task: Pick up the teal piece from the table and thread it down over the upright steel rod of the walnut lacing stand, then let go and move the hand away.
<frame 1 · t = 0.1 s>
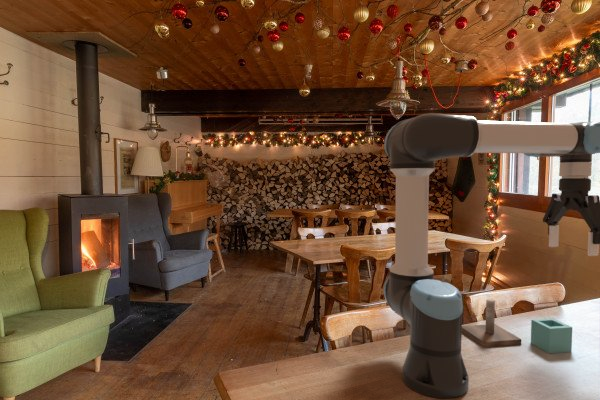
hand: (572, 251, 113), 27 cm above the table, tool pointing down, fingers open, 13 cm apart
teal piece: (550, 347, 113), on the table
lacing stand: (489, 337, 120), on the table
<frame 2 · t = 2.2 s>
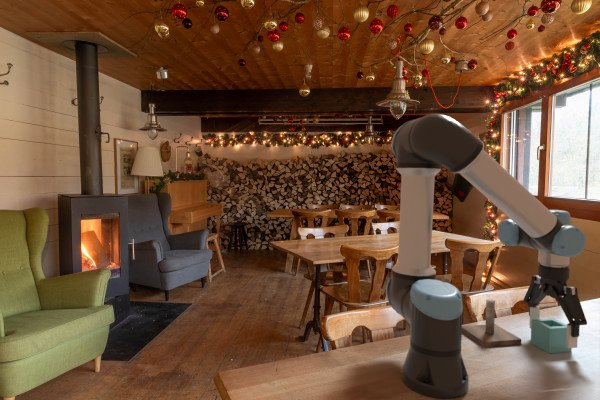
hand: (551, 337, 113), 3 cm above the table, tool pointing down, fingers open, 13 cm apart
nothing on the table moved.
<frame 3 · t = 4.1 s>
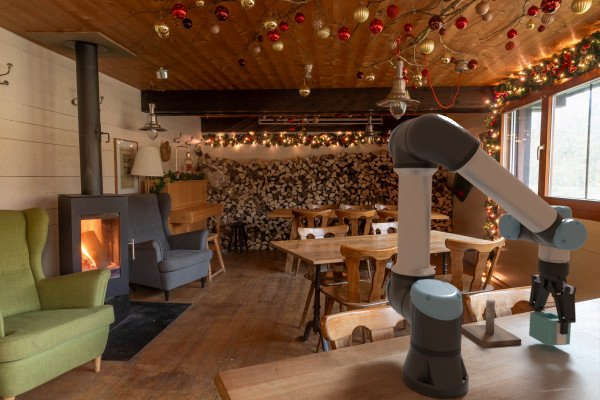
hand: (549, 338, 113), 2 cm above the table, tool pointing down, fingers closed on teal piece, 7 cm apart
teal piece: (548, 339, 113), point 2 cm above the table, touching gripper
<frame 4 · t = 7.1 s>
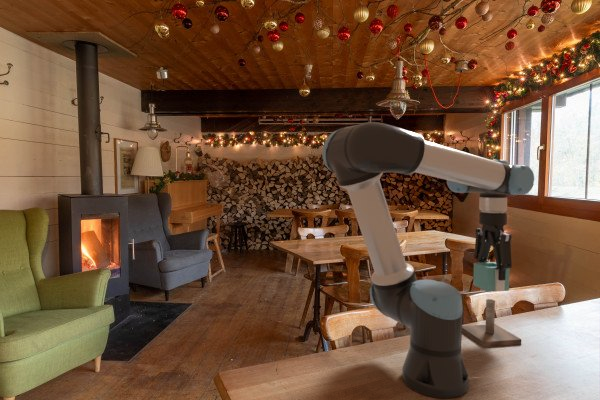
hand: (491, 286, 119), 16 cm above the table, tool pointing down, fingers closed on teal piece, 7 cm apart
teal piece: (490, 287, 119), point 15 cm above the table, touching gripper
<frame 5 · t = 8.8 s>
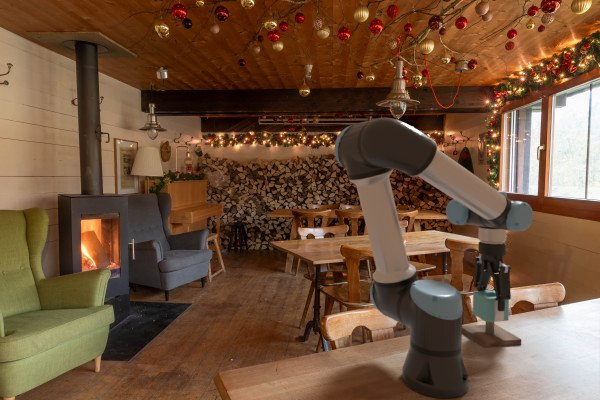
hand: (490, 316, 119), 7 cm above the table, tool pointing down, fingers closed on teal piece, 7 cm apart
teal piece: (490, 317, 119), point 6 cm above the table, touching gripper
when the fingers open (3 cm above the table, at t = 10.2 s): teal piece drops 1 cm, resting on lacing stand.
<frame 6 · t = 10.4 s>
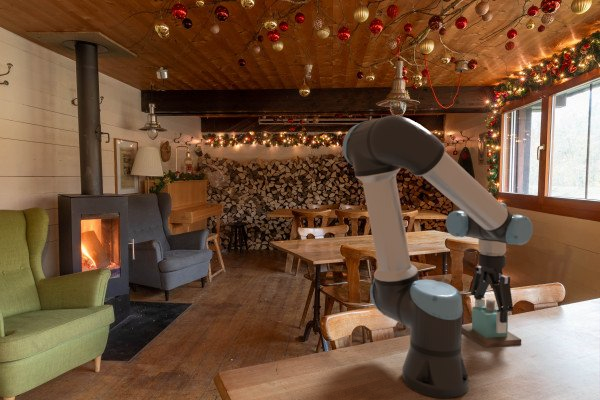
hand: (489, 325, 120), 4 cm above the table, tool pointing down, fingers open, 9 cm apart
teal piece: (489, 332, 120), point 1 cm above the table, touching lacing stand
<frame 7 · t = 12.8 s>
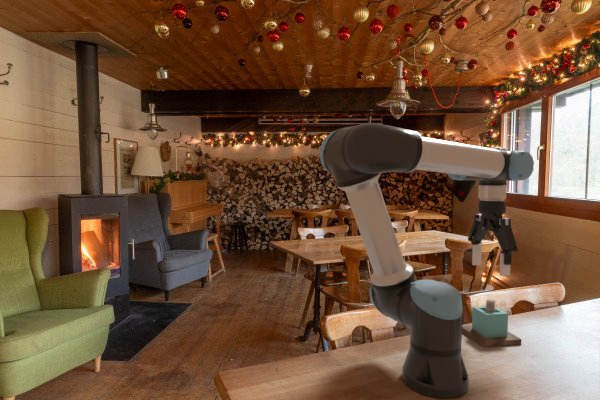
hand: (490, 270, 118), 21 cm above the table, tool pointing down, fingers open, 13 cm apart
nothing on the table moved.
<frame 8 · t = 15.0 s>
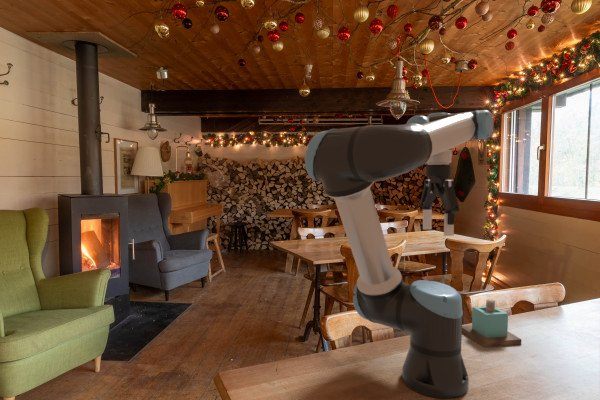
hand: (437, 232, 123), 32 cm above the table, tool pointing down, fingers open, 13 cm apart
nothing on the table moved.
at the end: teal piece 0.2 cm from the lacing stand (horizontally); teal piece point 1.5 cm above the table; the gripper is holding nothing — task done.
